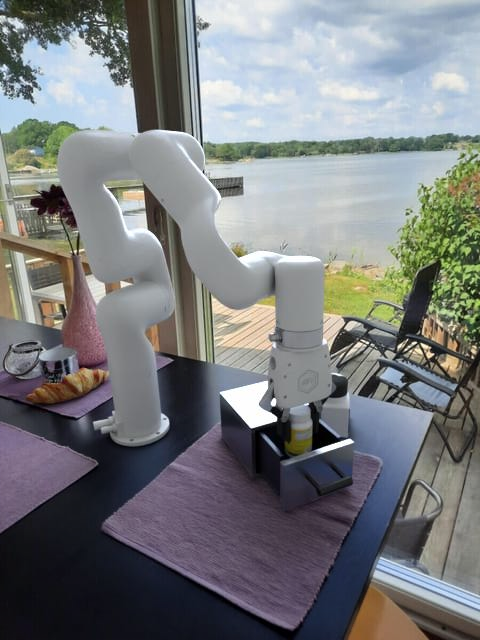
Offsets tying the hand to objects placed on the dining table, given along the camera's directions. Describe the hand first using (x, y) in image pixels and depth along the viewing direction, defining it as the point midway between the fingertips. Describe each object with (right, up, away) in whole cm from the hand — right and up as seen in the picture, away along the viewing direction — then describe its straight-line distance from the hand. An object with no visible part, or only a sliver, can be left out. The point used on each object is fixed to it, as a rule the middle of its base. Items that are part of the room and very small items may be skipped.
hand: (298, 432), depth 76 cm
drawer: (+1, -9, +1) cm, 9 cm away
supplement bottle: (0, -4, +1) cm, 4 cm away
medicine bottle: (+9, -4, +18) cm, 21 cm away
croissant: (-53, 0, +37) cm, 64 cm away
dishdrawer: (-4, -6, +12) cm, 15 cm away
